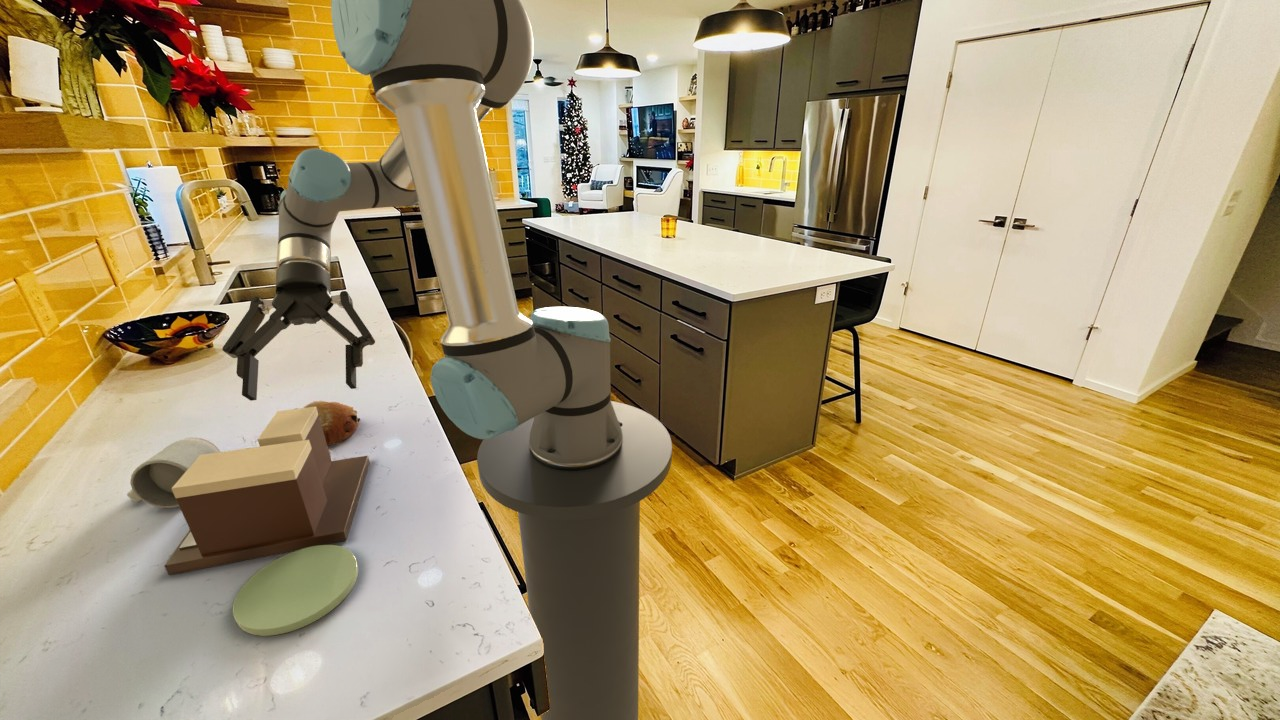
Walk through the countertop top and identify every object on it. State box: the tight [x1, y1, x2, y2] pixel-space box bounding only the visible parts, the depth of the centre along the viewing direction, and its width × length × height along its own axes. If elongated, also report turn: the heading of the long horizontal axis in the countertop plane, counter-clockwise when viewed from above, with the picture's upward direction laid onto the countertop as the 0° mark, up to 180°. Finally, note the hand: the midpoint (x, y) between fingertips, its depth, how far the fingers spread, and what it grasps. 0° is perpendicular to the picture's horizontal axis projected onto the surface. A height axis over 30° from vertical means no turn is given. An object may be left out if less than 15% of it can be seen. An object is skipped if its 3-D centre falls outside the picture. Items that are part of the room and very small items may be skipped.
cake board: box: [164, 455, 371, 576], centre depth 70 cm, size 19×18×2 cm
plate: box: [232, 544, 359, 637], centre depth 57 cm, size 12×12×1 cm
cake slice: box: [257, 407, 333, 485], centre depth 72 cm, size 5×8×10 cm, turn 18°
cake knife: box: [179, 532, 197, 549], centre depth 68 cm, size 14×2×1 cm, turn 18°
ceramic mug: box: [126, 437, 221, 509], centre depth 72 cm, size 11×8×8 cm
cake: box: [171, 440, 327, 556], centre depth 63 cm, size 12×7×10 cm, turn 108°
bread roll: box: [302, 400, 361, 447], centre depth 88 cm, size 10×10×8 cm
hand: (301, 391), depth 76 cm, fingers open, 13 cm apart
